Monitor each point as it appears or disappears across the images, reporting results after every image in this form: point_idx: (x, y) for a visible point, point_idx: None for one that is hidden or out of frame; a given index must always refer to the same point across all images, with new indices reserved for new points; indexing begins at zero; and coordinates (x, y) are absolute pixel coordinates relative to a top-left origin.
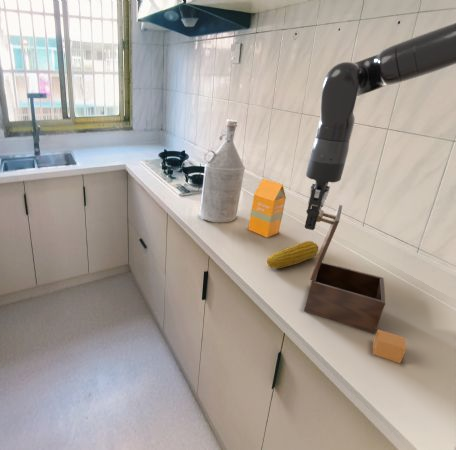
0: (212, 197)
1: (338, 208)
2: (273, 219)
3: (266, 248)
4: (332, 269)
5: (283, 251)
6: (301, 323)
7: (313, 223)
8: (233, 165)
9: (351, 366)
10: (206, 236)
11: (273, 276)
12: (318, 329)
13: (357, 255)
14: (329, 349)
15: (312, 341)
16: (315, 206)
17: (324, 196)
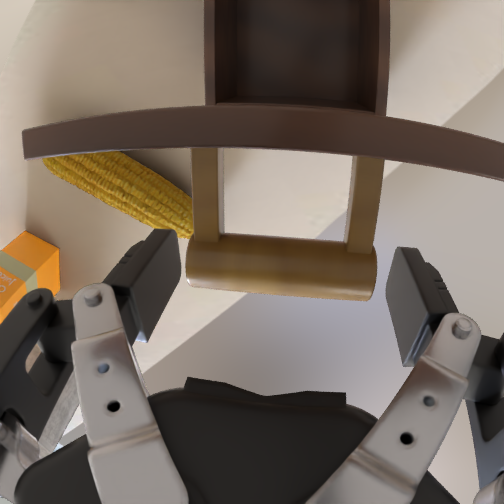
0: (71, 396)
1: (128, 147)
2: (23, 269)
3: (104, 240)
4: (218, 59)
5: (143, 213)
6: (415, 116)
7: (445, 287)
8: None
9: (491, 36)
10: (153, 353)
11: (232, 200)
12: (418, 79)
13: (10, 53)
14: (469, 66)
15: (462, 97)
16: (146, 311)
17: (425, 471)
